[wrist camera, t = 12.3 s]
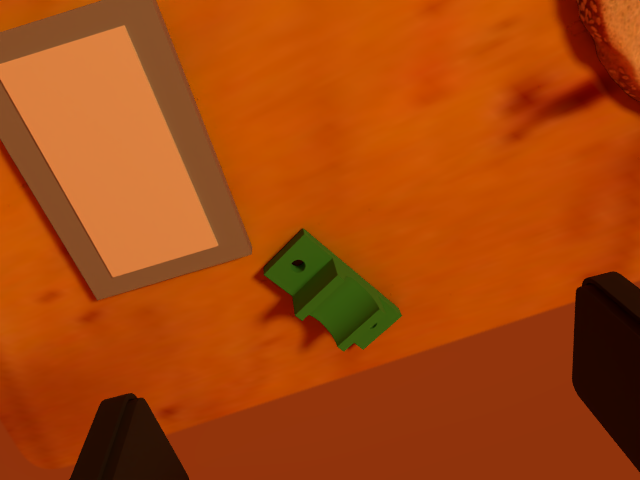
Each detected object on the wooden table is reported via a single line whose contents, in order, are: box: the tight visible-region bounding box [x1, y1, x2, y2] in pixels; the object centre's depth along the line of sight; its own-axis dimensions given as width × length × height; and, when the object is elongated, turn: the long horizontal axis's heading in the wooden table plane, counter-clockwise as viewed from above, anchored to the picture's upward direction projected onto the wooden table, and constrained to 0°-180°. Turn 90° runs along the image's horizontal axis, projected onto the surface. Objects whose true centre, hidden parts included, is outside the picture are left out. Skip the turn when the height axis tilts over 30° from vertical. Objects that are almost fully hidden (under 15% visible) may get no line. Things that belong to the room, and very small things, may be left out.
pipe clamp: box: [264, 229, 402, 351], centre depth 36 cm, size 11×4×5 cm
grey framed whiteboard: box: [0, 0, 252, 300], centre depth 31 cm, size 18×12×1 cm, turn 15°
